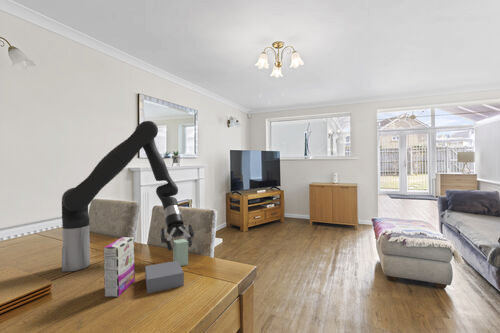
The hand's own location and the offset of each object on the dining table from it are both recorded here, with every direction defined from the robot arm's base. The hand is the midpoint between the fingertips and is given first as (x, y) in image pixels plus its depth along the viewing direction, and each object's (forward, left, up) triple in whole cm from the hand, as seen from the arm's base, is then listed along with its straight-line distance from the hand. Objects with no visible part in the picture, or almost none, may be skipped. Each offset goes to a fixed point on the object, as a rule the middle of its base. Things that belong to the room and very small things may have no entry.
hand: (180, 248), depth 106 cm
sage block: (0, 0, -7) cm, 7 cm away
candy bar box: (-24, -10, -7) cm, 27 cm away
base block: (-10, -13, -7) cm, 18 cm away
